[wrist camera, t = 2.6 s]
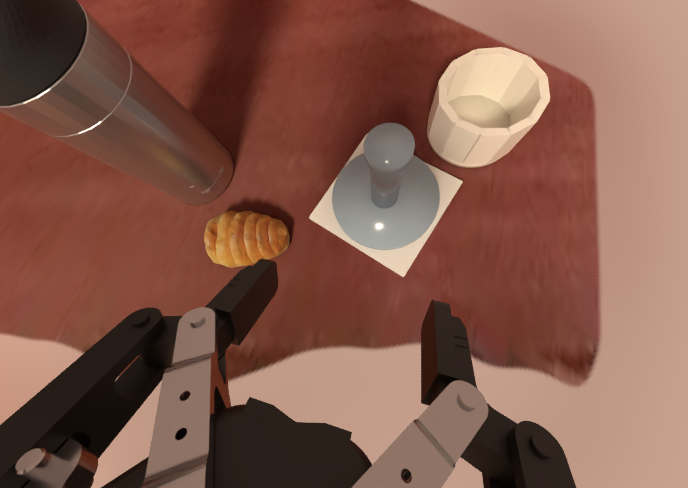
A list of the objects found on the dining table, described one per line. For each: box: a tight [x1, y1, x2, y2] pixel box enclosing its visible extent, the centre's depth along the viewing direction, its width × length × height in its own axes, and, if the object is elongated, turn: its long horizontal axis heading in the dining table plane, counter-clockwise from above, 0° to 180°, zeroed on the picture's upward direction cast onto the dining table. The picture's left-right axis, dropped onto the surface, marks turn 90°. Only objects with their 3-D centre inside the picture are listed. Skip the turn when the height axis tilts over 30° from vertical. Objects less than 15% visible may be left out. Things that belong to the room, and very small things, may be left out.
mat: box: [309, 134, 463, 277], centre depth 29 cm, size 13×13×1 cm
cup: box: [427, 47, 550, 168], centre depth 27 cm, size 10×10×6 cm
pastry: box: [204, 210, 290, 268], centre depth 29 cm, size 9×7×4 cm
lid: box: [332, 123, 440, 250], centre depth 24 cm, size 12×12×11 cm
